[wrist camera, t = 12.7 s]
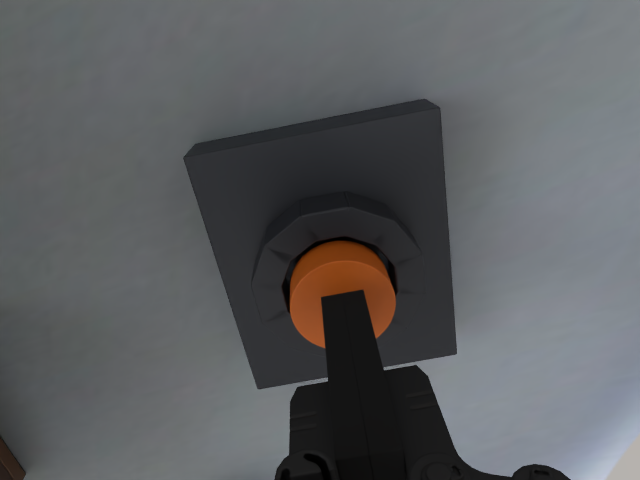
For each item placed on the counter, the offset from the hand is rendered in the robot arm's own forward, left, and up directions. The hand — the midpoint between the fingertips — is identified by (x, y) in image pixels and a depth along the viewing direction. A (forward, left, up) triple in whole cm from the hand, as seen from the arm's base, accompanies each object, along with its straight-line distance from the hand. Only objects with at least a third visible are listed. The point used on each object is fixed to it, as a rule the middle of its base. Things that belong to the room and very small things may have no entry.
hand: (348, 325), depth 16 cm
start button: (0, 0, -3) cm, 3 cm away
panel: (0, 0, -6) cm, 6 cm away
